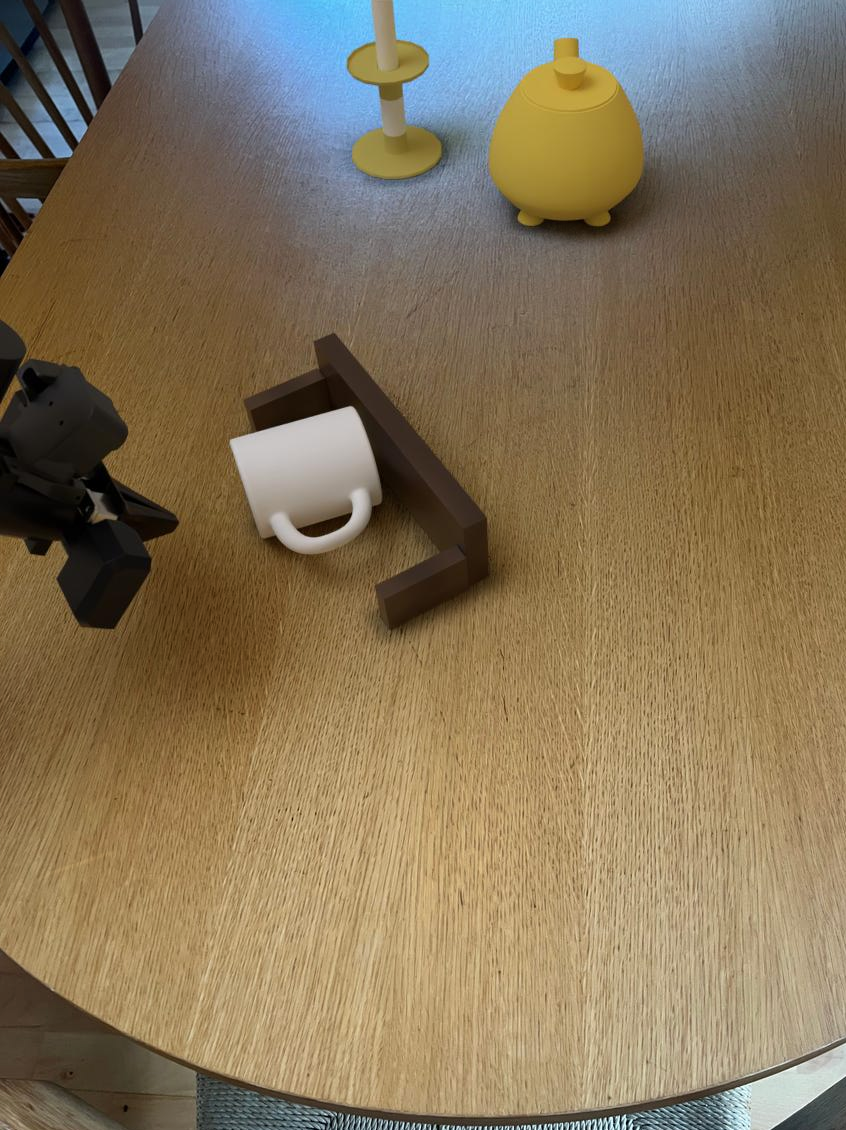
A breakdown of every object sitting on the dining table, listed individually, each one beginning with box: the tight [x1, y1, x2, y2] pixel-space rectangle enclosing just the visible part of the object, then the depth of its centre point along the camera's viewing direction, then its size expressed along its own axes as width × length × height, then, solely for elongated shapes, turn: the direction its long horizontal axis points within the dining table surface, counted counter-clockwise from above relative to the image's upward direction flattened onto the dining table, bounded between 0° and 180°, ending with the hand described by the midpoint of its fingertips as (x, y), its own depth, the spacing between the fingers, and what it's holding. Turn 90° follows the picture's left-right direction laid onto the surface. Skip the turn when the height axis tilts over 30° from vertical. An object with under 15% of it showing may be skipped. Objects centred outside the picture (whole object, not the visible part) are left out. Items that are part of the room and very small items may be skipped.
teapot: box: [488, 37, 645, 227], centre depth 101 cm, size 20×16×14 cm
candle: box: [346, 0, 443, 180], centre depth 100 cm, size 10×10×27 cm
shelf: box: [242, 332, 490, 631], centre depth 80 cm, size 9×24×7 cm, turn 32°
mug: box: [229, 406, 383, 555], centre depth 79 cm, size 12×10×8 cm
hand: (175, 523), depth 74 cm, fingers closed
